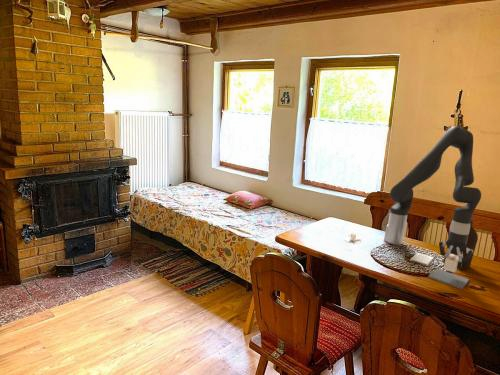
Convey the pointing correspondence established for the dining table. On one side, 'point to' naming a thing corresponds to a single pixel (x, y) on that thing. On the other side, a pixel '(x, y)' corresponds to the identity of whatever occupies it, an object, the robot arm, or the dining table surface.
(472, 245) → the olive oil
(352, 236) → the teacup and saucer
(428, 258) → the external hard drive
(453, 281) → the mat
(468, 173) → the robot arm
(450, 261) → the block
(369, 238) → the dining table surface
